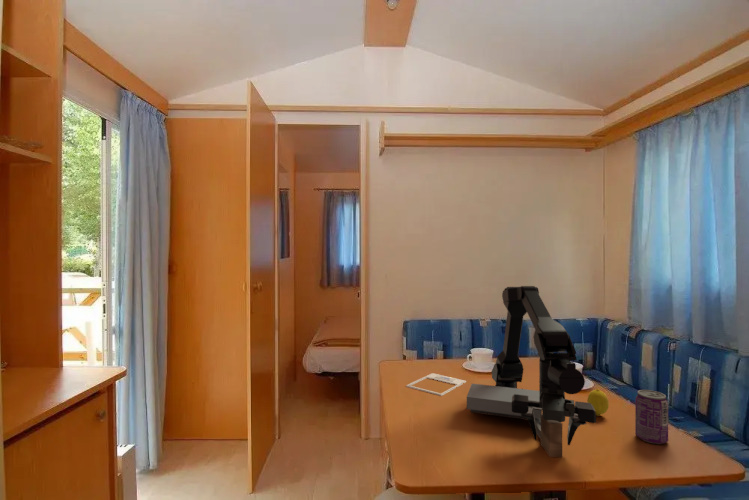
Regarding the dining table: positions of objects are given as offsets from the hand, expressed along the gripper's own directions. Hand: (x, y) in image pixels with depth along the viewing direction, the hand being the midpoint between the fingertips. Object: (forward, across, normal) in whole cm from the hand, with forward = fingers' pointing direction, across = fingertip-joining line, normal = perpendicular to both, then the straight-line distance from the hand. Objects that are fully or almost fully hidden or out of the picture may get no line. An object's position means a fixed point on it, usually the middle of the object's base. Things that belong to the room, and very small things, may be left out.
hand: (551, 442), depth 100 cm
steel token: (+3, -1, +15) cm, 15 cm away
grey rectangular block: (+2, -12, +16) cm, 20 cm away
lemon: (+2, +14, +28) cm, 31 cm away
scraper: (+2, -2, +6) cm, 7 cm away
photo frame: (+3, -37, +39) cm, 53 cm away
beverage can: (+2, +25, +16) cm, 29 cm away
